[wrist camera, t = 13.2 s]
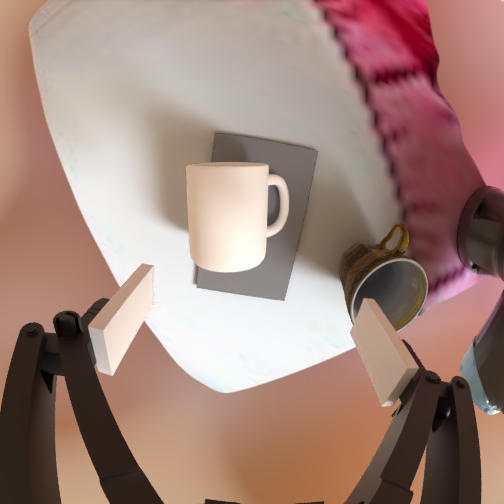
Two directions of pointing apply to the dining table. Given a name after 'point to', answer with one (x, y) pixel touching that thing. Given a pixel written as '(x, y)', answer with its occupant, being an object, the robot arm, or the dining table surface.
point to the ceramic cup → (384, 279)
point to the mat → (286, 240)
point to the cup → (231, 214)
